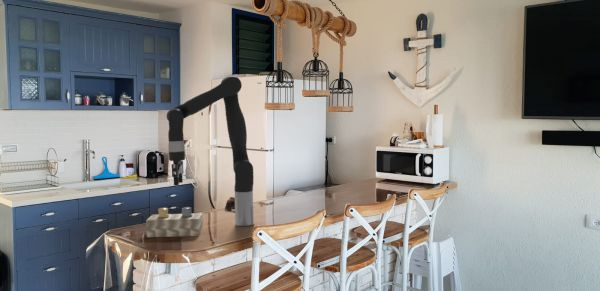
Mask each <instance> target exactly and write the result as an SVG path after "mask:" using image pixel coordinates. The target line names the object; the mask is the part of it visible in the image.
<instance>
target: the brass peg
mask: <svg viewBox="0 0 600 291" xmlns="http://www.w3.org/2000/svg"><path fill="white" fill-rule="evenodd" d="M157 211H158V216H159V218H168V214H169V208H168V207H160V208H158V210H157Z"/></svg>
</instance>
